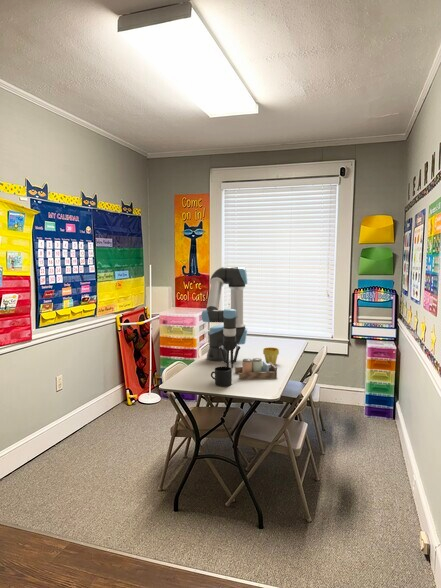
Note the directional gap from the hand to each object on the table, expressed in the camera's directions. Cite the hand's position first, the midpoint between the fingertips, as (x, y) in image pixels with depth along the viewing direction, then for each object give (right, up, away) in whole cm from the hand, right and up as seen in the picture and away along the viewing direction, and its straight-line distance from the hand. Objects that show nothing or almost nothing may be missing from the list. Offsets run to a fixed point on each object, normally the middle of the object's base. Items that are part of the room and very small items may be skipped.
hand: (229, 373), depth 244 cm
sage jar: (+17, -1, +3) cm, 17 cm away
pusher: (+23, -1, +3) cm, 23 cm away
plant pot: (+29, +1, +30) cm, 42 cm away
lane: (+16, -1, +2) cm, 16 cm away
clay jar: (+11, -1, +1) cm, 11 cm away
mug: (-5, -3, -15) cm, 16 cm away
